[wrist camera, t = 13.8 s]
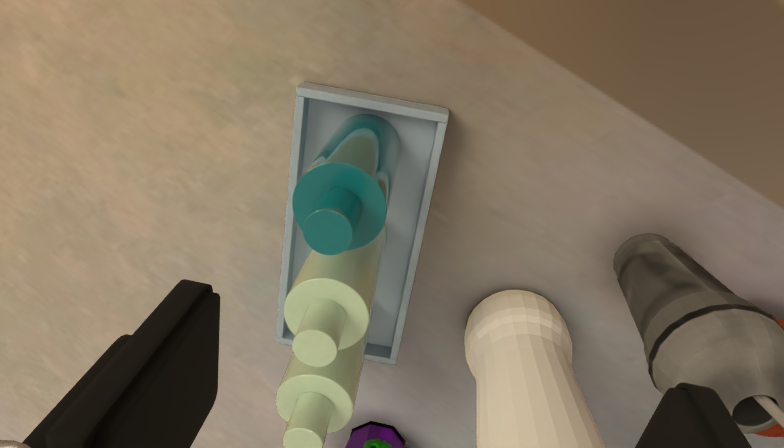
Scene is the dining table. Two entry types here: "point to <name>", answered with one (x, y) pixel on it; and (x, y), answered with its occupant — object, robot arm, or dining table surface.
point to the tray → (406, 209)
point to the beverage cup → (702, 332)
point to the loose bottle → (348, 186)
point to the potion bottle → (375, 436)
